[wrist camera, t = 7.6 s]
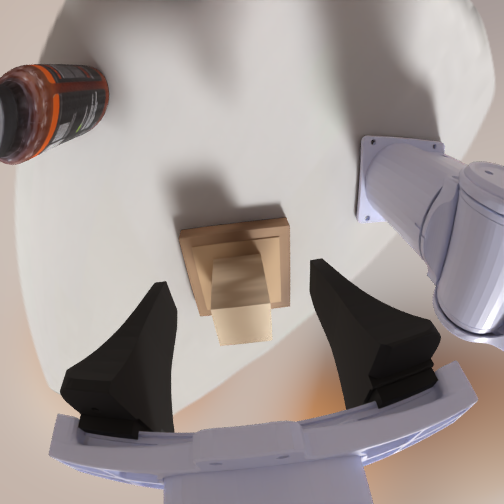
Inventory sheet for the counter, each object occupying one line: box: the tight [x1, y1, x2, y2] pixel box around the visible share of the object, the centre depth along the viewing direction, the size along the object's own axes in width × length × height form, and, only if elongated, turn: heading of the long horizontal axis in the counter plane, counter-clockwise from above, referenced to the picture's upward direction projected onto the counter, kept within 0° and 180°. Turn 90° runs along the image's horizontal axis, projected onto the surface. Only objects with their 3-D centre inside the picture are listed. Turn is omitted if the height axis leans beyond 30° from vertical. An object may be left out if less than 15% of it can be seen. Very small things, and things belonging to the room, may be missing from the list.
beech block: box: [211, 254, 272, 346], centre depth 21 cm, size 4×4×6 cm
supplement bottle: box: [0, 64, 109, 165], centre depth 11 cm, size 6×6×11 cm
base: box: [179, 218, 290, 316], centre depth 25 cm, size 9×9×2 cm
